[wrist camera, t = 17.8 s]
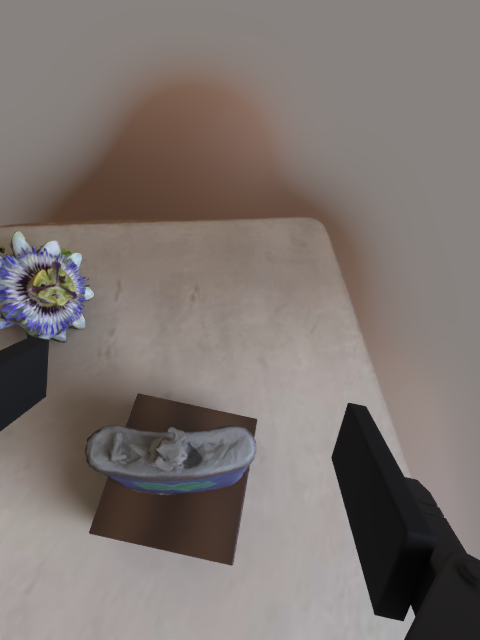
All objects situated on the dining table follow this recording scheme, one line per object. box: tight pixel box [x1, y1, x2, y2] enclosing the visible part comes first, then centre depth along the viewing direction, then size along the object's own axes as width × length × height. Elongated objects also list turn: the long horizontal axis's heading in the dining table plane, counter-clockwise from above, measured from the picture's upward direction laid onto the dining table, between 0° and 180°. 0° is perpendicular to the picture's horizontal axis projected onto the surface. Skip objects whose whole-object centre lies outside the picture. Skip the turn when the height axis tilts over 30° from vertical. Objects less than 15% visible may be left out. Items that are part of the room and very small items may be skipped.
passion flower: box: [0, 232, 94, 343], centre depth 35 cm, size 11×11×12 cm
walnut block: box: [89, 394, 257, 565], centre depth 29 cm, size 10×10×6 cm
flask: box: [85, 425, 256, 495], centre depth 22 cm, size 9×3×11 cm, turn 91°
